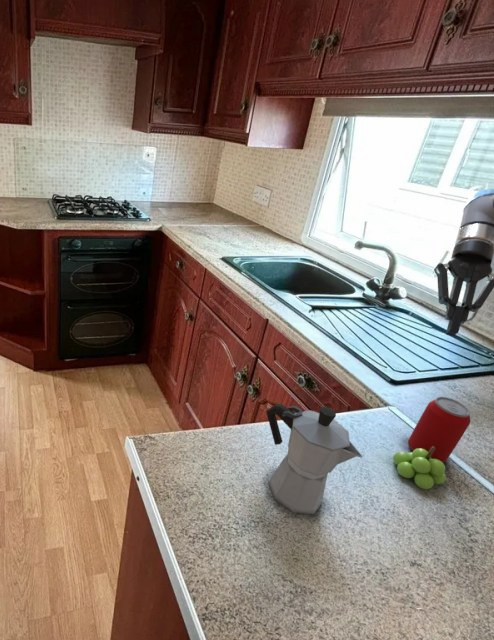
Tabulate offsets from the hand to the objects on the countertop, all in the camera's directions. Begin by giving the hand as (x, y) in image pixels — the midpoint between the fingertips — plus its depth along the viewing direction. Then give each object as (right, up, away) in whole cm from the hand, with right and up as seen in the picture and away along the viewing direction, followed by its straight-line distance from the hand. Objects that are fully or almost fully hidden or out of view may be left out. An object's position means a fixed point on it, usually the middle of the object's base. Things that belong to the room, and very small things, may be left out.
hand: (451, 333), depth 92 cm
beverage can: (-14, -24, -11) cm, 30 cm away
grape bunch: (-20, -26, -17) cm, 37 cm away
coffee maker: (-47, -26, -22) cm, 58 cm away
